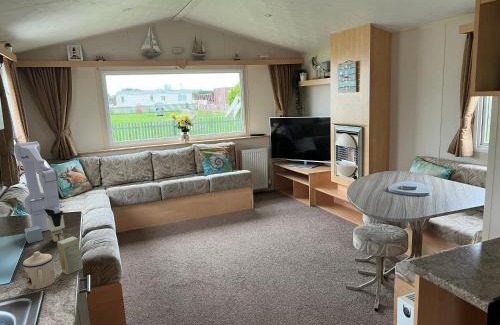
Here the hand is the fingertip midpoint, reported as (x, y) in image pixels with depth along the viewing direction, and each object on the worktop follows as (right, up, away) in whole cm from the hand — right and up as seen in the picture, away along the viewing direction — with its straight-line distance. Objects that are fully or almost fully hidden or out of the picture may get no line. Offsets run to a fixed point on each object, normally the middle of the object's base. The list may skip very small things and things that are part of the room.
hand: (55, 224), depth 168 cm
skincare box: (+23, -12, -31) cm, 40 cm away
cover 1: (-11, -7, +2) cm, 13 cm away
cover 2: (0, -1, 0) cm, 2 cm away
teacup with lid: (+17, -14, -41) cm, 46 cm away
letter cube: (0, -7, +1) cm, 7 cm away
